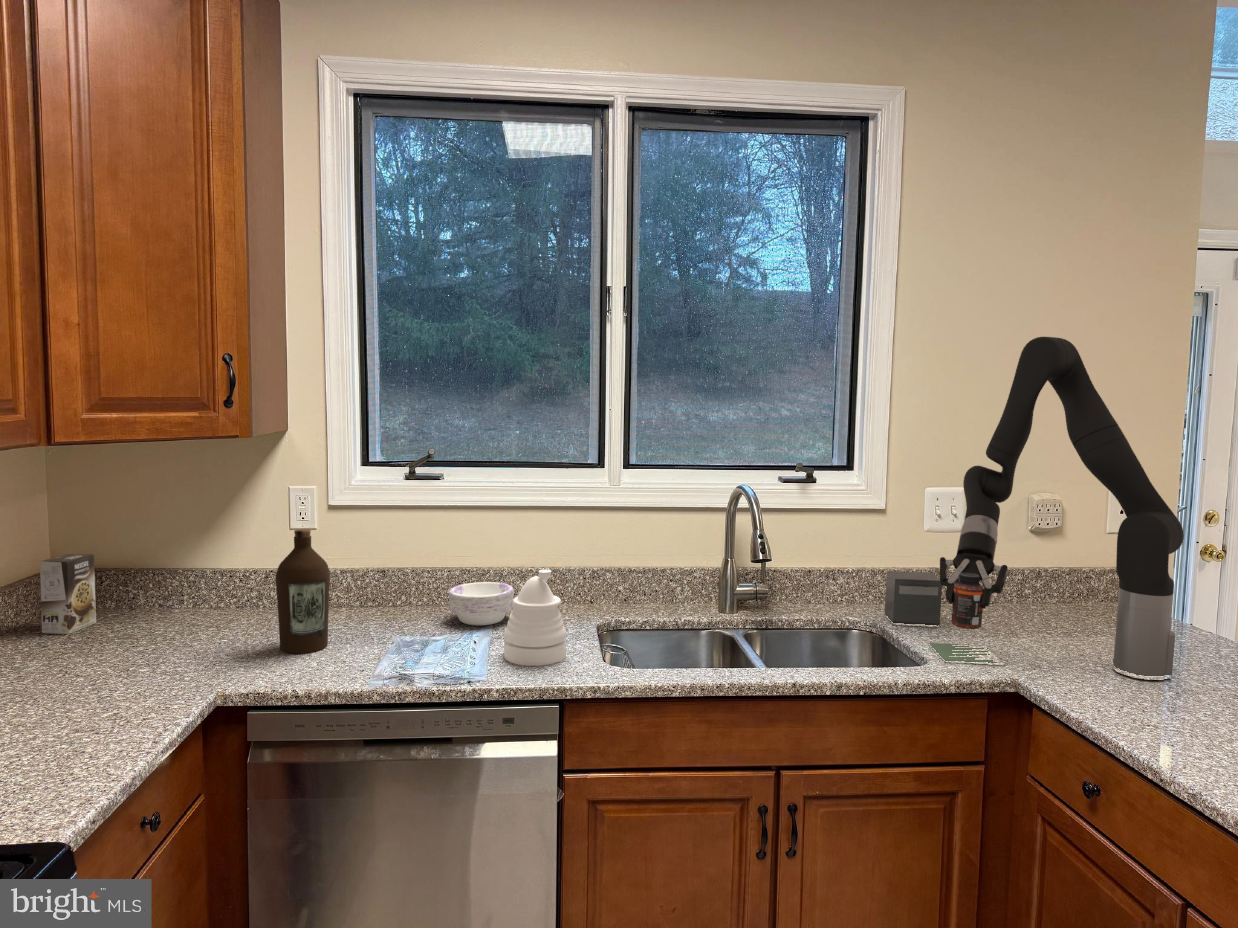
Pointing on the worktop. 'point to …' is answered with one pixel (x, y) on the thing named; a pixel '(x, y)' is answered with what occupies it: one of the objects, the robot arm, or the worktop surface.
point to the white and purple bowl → (481, 602)
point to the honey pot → (535, 626)
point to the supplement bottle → (967, 602)
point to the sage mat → (946, 651)
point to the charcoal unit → (913, 597)
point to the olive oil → (303, 598)
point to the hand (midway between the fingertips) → (966, 603)
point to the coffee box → (67, 593)
